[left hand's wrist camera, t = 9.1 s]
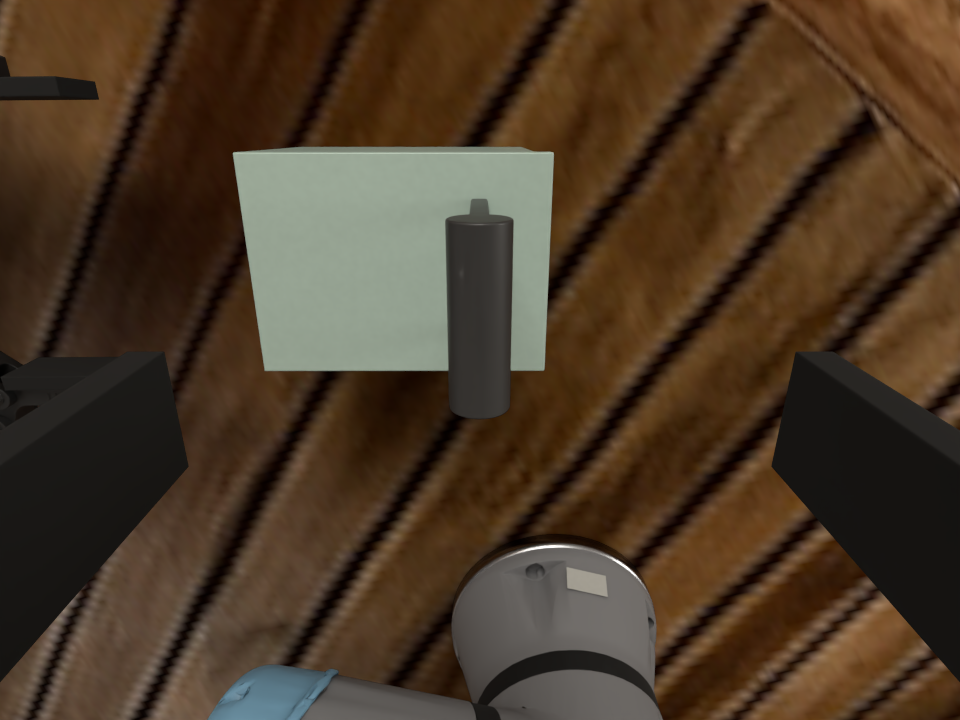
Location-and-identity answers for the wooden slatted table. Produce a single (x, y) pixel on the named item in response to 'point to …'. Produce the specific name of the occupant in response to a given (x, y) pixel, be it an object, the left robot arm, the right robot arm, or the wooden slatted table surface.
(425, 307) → the lid
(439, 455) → the wooden slatted table surface
